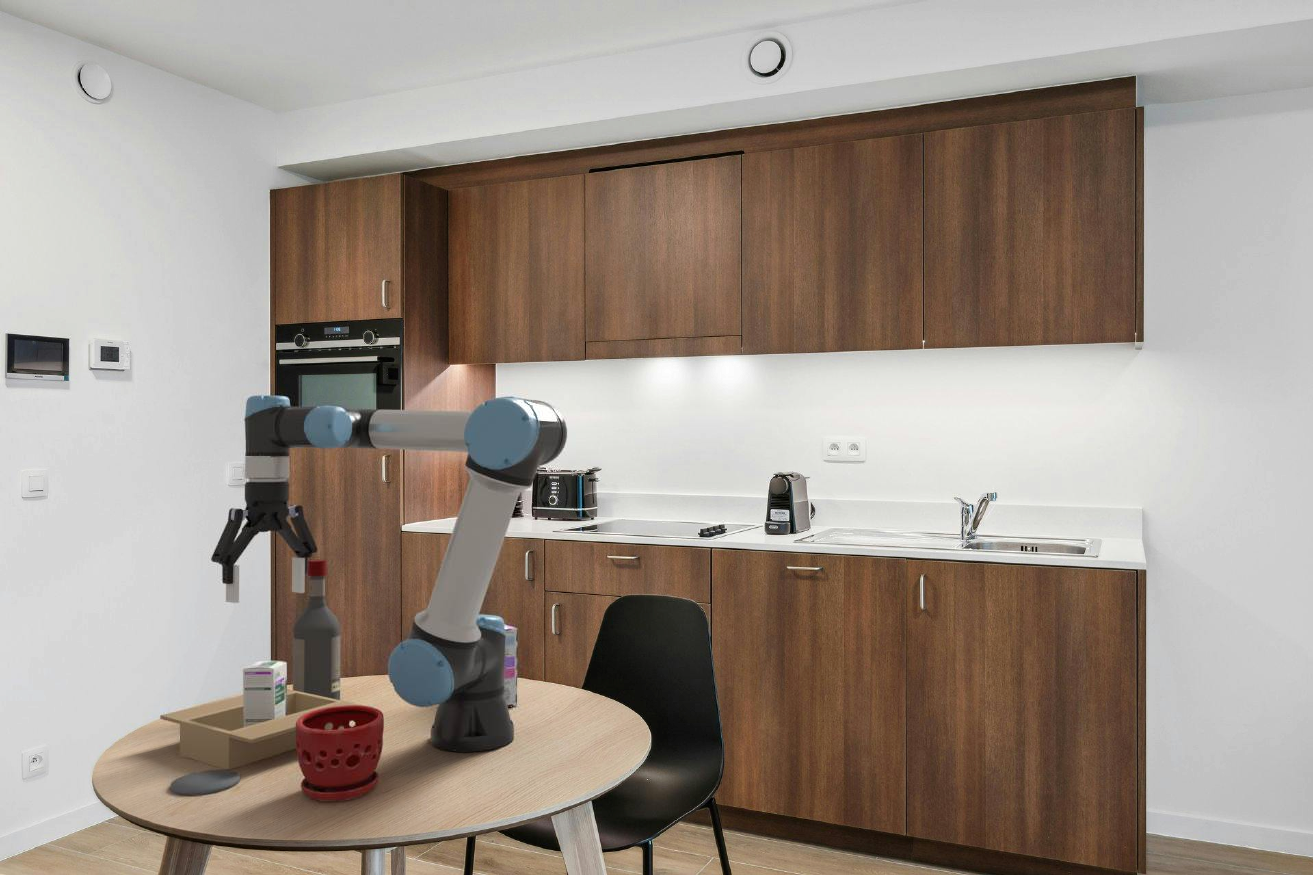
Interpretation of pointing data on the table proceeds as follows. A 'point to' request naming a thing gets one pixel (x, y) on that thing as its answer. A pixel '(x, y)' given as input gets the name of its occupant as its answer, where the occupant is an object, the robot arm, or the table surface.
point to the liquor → (317, 641)
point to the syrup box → (264, 692)
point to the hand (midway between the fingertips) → (266, 597)
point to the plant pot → (339, 751)
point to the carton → (242, 730)
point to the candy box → (511, 666)
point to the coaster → (205, 782)
